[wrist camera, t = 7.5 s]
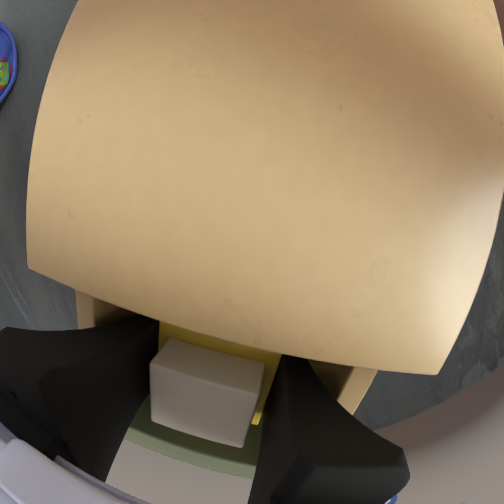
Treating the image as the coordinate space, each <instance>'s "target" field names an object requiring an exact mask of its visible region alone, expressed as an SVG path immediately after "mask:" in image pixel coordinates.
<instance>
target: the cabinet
mask: <svg viewBox="0 0 504 504" xmlns="http://www.w3.org/2000/svg"><path fill="white" fill-rule="evenodd" d="M503 191H504V47H503V41H502V36H501V31H500V26H499V22H498V18H497V14H496V10H495V6H494V3H493V0H78V2H77V4H76V6H75V8H74V10H73V13H72V15H71V17H70V19H69V21H68V23H67V26H66V28H65V30H64V33H63V35H62V38H61V40H60V43H59V45H58V48H57V50H56V53H55V56H54V59H53V62H52V65H51V68H50V71H49V74H48V77H47V81H46V84H45V88H44V91H43V95H42V99H41V103H40V107H39V112H38V116H37V121H36V126H35V131H34V137H33V143H32V150H31V157H30V165H29V175H28V187H27V206H26V244H27V262H28V268H29V269H32V270H34V271H36V272H38V273H40V274H42V275H44V276H46V277H48V278H51V279H53V280H55V281H57V282H60V283H62V284H64V285H66V286H69V287H71V288H73V289H76V290H78V291H81V292H83V293H85V294H88V295H90V296H93V297H95V298H98V299H100V300H103V301H105V302H108V303H111V304H113V305H116V306H119V307H121V308H124V309H127V310H130V311H132V312H135V313H138V314H141V315H144V316H147V317H150V318H153V319H156V320H159V321H162V322H165V323H168V324H171V325H174V326H178V327H181V328H184V329H187V330H191V331H194V332H198V333H201V334H205V335H208V336H212V337H215V338H219V339H223V340H227V341H230V342H234V343H238V344H242V345H246V346H250V347H254V348H259V349H263V350H267V351H272V352H276V353H281V354H286V355H291V356H296V357H301V358H306V359H311V360H317V361H322V362H328V363H334V364H340V365H347V366H353V367H360V368H368V369H375V370H384V371H393V372H403V373H414V374H426V375H437V374H438V372H439V371H440V369H441V367H442V365H443V364H444V362H445V360H446V358H447V356H448V354H449V353H450V351H451V349H452V347H453V345H454V343H455V341H456V339H457V337H458V335H459V333H460V330H461V328H462V326H463V324H464V322H465V319H466V317H467V315H468V312H469V310H470V308H471V305H472V303H473V300H474V298H475V295H476V292H477V290H478V287H479V284H480V282H481V279H482V276H483V273H484V270H485V267H486V263H487V260H488V257H489V254H490V250H491V247H492V243H493V239H494V235H495V231H496V227H497V223H498V218H499V213H500V208H501V203H502V197H503Z"/></svg>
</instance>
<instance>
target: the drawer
mask: <svg viewBox="0 0 504 504" xmlns="http://www.w3.org/2000/svg"><path fill="white" fill-rule="evenodd" d="M75 291H76V305H77V316H78V326H79V329H85V328H91V327H96V326H101V325H105V324H109V323H113V322H116V321H119V320H123V319H126V318H129V317H132V316H135V315H138V313H135V312H132V311H130V310H127V309H124V308H121V307H119V306H116V305H113V304H111V303H108V302H105V301H103V300H100V299H98V298H95V297H93V296H90V295H88V294H85V293H83V292H81V291H78V290H76V289H75ZM308 361H309V363H310V365H311V366H312V368H313V370H314V371H315V373H316V375H317V376H318V378H319V379H320V380H321V382H322V383H323V385H324V386H325V387H326V388H327V390H328V391H329V392H330V393H331V394H332V396H333V397H334V398H335V399H336V400H337V401H338V402H339V403H340V404H341V405H342V406H343V407H344V408H345V409H346V410H347V411H348V412H349V413H350V414H351V415H353V414H354V412H355V410H356V409H357V407H358V405H359V404H360V402H361V400H362V398H363V397H364V395H365V393H366V391H367V390H368V388H369V386H370V384H371V382H372V381H373V379H374V377H375V375H376V373H377V371H378V370H375V369H368V368H360V367H353V366H347V365H340V364H334V363H328V362H322V361H317V360H311V359H308ZM262 422H263V412H262V415H261V418H260V420H259V423H258V425H255V424H251V426H250V428H249V431H248V434H247V437H246V440H245V443H244V445H243V447H242V448H239V447H234V446H230V445H226V444H222V443H218V442H214V441H211V440H207V439H204V438H200V437H197V436H194V435H190V434H187V433H184V432H181V431H178V430H175V429H172V428H170V427H167V426H164V425H161V424H159V423H156V422H153V421H152V420H151V403H150V393H149V395H148V396H147V398H146V399H145V400H144V402H143V403H142V405H141V406H140V408H139V409H138V411H137V413H136V415H135V417H134V419H133V421H132V422H131V424H130V426H129V428H128V430H127V432H126V434H125V436H124V439H126V440H129V441H131V442H133V443H135V444H138V445H140V446H142V447H145V448H147V449H150V450H152V451H155V452H158V453H160V454H163V455H165V456H168V457H171V458H174V459H177V460H180V461H183V462H186V463H189V464H192V465H196V466H199V467H203V468H207V469H210V470H214V471H218V472H221V473H226V474H230V475H234V476H239V477H244V478H249V479H254V475H255V470H256V466H257V461H258V456H259V451H260V445H261V436H262Z"/></svg>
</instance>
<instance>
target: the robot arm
mask: <svg viewBox="0 0 504 504" xmlns="http://www.w3.org/2000/svg"><path fill="white" fill-rule="evenodd" d="M159 322H160V321H159V320H156V319H153V318H150V317H147V316H144V315H141V314H138V315H135V316H132V317H129V318H126V319H123V320H119V321H116V322H113V323H109V324H105V325H101V326H96V327H91V328H85V329H76V330H65V331H36V330H26V329H19V328H12V327H6V328H4V329H3V330H1V331H0V504H150V503H148V502H145V501H143V500H140V499H138V498H136V497H133V496H131V495H129V494H126V493H124V492H122V491H120V490H118V489H116V488H114V487H112V486H110V485H108V484H106V483H105V481H106V478H107V475H108V473H109V470H110V468H111V465H112V463H113V461H114V458H115V456H116V454H117V451H118V449H119V447H120V445H121V442H122V440H123V438H124V436H125V434H126V432H127V430H128V428H129V426H130V424H131V422H132V421H133V419H134V417H135V415H136V413H137V411H138V409H139V408H140V406H141V405H142V403H143V402H144V400H145V399H146V398H147V396H148V395H149V393H150V362H151V361H152V359H153V358H154V357H155V356H156V354H157V353H158V344H159ZM409 479H410V472H409V469H408V464H407V461H406V458H405V454H404V452H403V449H402V448H400V447H399V446H397V445H395V444H393V443H391V442H389V441H388V440H386V439H384V438H382V437H381V436H379V435H378V434H376V433H374V432H373V431H372V430H370V429H369V428H367V427H366V426H365V425H363V424H362V423H361V422H360V421H358V420H357V419H356V418H355V417H354V416H352V415H351V414H350V413H349V412H348V411H347V410H346V409H345V408H344V407H343V406H342V405H341V404H340V403H339V402H338V401H337V400H336V399H335V398H334V397H333V396H332V394H331V393H330V392H329V391H328V390H327V388H326V387H325V386H324V385H323V383H322V382H321V380H320V379H319V378H318V376H317V375H316V373H315V371H314V370H313V368H312V366H311V365H310V363H309V361H308V359H306V358H301V357H296V356H291V355H286V354H282V357H281V360H280V363H279V366H278V369H277V372H276V375H275V378H274V381H273V384H272V387H271V390H270V392H269V395H268V398H267V401H266V404H265V407H264V409H263V422H262V436H261V445H260V451H259V456H258V461H257V466H256V470H255V475H254V479H253V484H252V488H251V492H250V496H249V500H248V504H387V503H388V502H390V500H391V498H392V497H394V496H395V495H396V494H397V493H398V492H400V491H401V490H402V489H403V488H404V487H405V486H406V484H407V483H408V481H409ZM464 504H468V503H464Z"/></svg>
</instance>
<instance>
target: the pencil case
mask: <svg viewBox="0 0 504 504" xmlns="http://www.w3.org/2000/svg"><path fill="white" fill-rule="evenodd" d="M17 72H18V65H17V48H16V43H15V40H14V37H13V35H12V33H11V32H10V30H9V29H8V27H7V26H6V25H4V24H3V23H2V22H0V104H1V102H2V101H3V100H4V99H5V98H6V96H7V95H8V93H9V91H10V90H11V88H12V86H13V85H14V83H15V80H16V77H17Z"/></svg>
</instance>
